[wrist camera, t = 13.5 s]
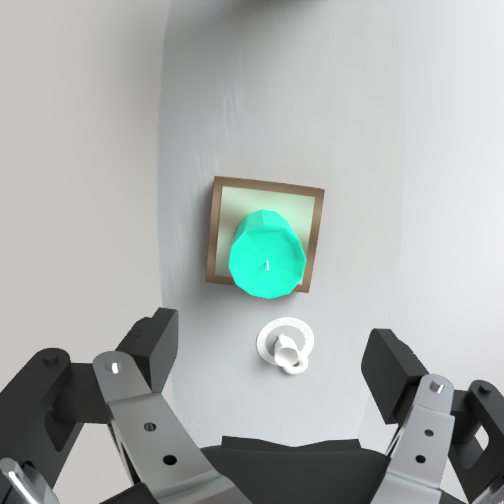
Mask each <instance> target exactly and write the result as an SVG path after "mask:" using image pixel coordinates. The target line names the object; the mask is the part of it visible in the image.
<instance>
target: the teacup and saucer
mask: <svg viewBox="0 0 504 504" xmlns="http://www.w3.org/2000/svg"><path fill="white" fill-rule="evenodd" d="M283 325H290V326H294V327H296V328H298V329H300V330H301V331H302V333H303V334H304V336H305V346H304V348H303V350H302V351H301V352H299V351H298V350H297V347H296V345H295V343H294V341H293V340H292V339H291V338H289V337H287V336H284V335H283V334H279V335H278V338H279V339H278V340H277V342H276V344H275V352H274V356H272V355H271V354H270V353H269V352H268V351H267V349H266V346H265V340H266V337H267V335H268V334H269V333H270V331H272V330H273V329H274V328H276V327H279V326H283ZM313 344H314V336H313V333H312V331H311V329H310V328H309V326H308V325H307V324H305V323H304V322H302V321H301V320H298V319H295V318H279V319H276V320H273V321H271V322H269V323H268V324H266V325H265V326H264V327H263V328H262V329H261V331H260V332H259V334H258V337H257V342H256V345H257V350H258V352H259V354H260V356H261V357H262V358H263V359H264V360H265V361H267V362H268V363H270V364H273V365H276V366H282V367H283V369H284V370H285V371H286V372H287V373H288V374H291V375H298V374H301V373H302V372H304V371H305V370H306V368H307V366H308V359H307V356H308V355H309V353H310V352H311V350H312V348H313ZM297 363H299V365H298V366H297V367H293V366H292V365H294V364H297Z"/></svg>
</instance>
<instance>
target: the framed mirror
mask: <svg viewBox="0 0 504 504" xmlns="http://www.w3.org/2000/svg"><path fill="white" fill-rule="evenodd" d="M324 191H325V189H320V188H314V187H307V186H300V185H292V184H285V183H277V182H269V181H260V180H251V179H241V178H232V177H221V176H215V178H214V188H213V198H212V209H211V220H210V232H209V244H208V257H207V271H206V282H211V283H220V284H228V285H236V283H235V281H234V279H233V276H232V274H231V272H230V269H229V267H228V266H229V259H230V252H231V247H232V244H233V241H234V238H235V235H236V233H237V230H238V227H239V225H240V224H241V222H242V221H243V220H244V219H245V217H246V216H247V215H248V214H250V213H252V212H255V211H258V210H260V209H265V210H271V211H276V212H277V213H279V214H280V215H281V216H282V217H283V218H285V219H286V220H287V221H288V223H289V224H290V226H291V227H292V229H293V231H294V232H295V234H296V235H297V237H298V238H299V240H300V242H301V245H302V248H303V251H304V254H305V257H306V264H305V269H304V273H303V278H302V280H301V281H300V282H299V283H298V284H297V285H296V287H295V288H294V289H293V290H292V291H294V292H305V293H309V288H310V282H311V276H312V271H313V265H314V259H315V253H316V246H317V240H318V234H319V227H320V220H321V213H322V206H323V199H324ZM237 286H238V285H237Z"/></svg>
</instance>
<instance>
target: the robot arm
mask: <svg viewBox="0 0 504 504" xmlns="http://www.w3.org/2000/svg"><path fill="white" fill-rule="evenodd" d="M177 350H178V311H177V310H174V309H168V308H161V307H159V308H158V310H157V311H156V312H155V314H154V315H153V317H152V318H149V317H144V318H143V319H141V320H139V321H137V322H136V323H135V324H134V326H133V327H132V329H131V330H130V331H129V332H128V333H127V335H126V336H125V337H124V339H123V340H122V341H121V343H120V344H119V345H118V347H117V348H116V349H115V351H108V352H104V353H101V354H99V355H98V356H96V357H95V359H94V360H93V363H89V364H88V363H87V364H86V363H71V360H70V356H69V354H68V353H67V352H66V351H64V350H62V349H59V348H47V349H43V350H41V351H39V352H37V353H36V354H35V355H34V356H33V357H32V358H31V359H30V360H29V362H27V364H26V365H25V366H24V367H23V368H22V369H21V370H20V371H19V372H18V373H17V374H16V376H15V377H14V378H13V379H12V380H11V381H10V382H9V384H8V385H7V386H6V387H5V388H4V389H3V390H2V392H1V393H0V504H60V503H59V500H58V498H57V496H56V495H55V493H54V492H53V491H52V490H53V487H54V485H55V483H56V481H57V479H58V476H59V474H60V472H61V470H62V468H63V466H64V463H65V462H66V459H67V457H68V455H69V453H70V451H71V449H72V447H73V445H74V443H75V441H76V439H77V437H78V435H79V433H80V431H81V429H82V427H83V425H84V423H99V424H107V427H108V430H109V432H110V434H111V437H112V440H113V442H114V444H115V446H116V449H117V451H118V453H119V456H120V458H121V460H122V462H123V465H124V467H125V469H126V472H127V474H128V477H129V479H130V481H131V483H132V485H133V486H132V487H130V488H128V489H126V490H125V491H123V492H121V493H119V494H117V495H115V496H113V497H111V498H109V499H107V500H106V501H104V502H101V503H99V504H466V503H464V502H462V501H460V500H459V499H457V498H455V497H453V496H452V495H450V494H448V493H446V492H445V491H443V490H441V489H440V488H439V486H440V482H441V479H442V475H443V471H444V468H445V464H446V460H447V456H448V458H449V459H450V462H451V464H452V466H453V468H454V470H455V473H456V475H457V477H458V479H459V481H460V483H461V486H462V488H463V491H464V493H465V495H466V497H467V500H468V502H469V504H504V397H503V396H502V395H501V394H500V392H499V391H498V390H497V388H496V387H495V386H493V385H492V384H490V383H489V382H486V381H483V380H475V381H473V382H472V383H471V385H470V387H469V389H468V390H467V391H462V390H454V387H453V384H452V383H451V382H450V381H449V380H448V379H446V378H445V377H443V376H440V375H436V374H429V372H428V371H427V370H426V368H425V367H424V366H423V364H422V363H421V362H420V360H418V358H417V357H416V355H415V354H413V351H412V350H411V349H410V348H409V346H407V345H406V344H405V343H403V342H402V341H400V340H399V339H398V338H397V337H396V336H395V334H394V333H393V332H392V330H391V329H376V328H374V329H373V330H372V331H371V333H370V336H369V339H368V343H367V346H366V349H365V352H364V355H363V358H362V363H361V371H362V374H363V376H364V378H365V381H366V383H367V385H368V387H369V389H370V391H371V393H372V396H373V398H374V400H375V402H376V404H377V406H378V409H379V411H380V413H381V415H382V417H383V420H384V422H385V424H386V425H387V424H396V423H398V428H397V429H396V431H395V433H394V435H393V437H392V439H391V441H390V443H389V445H388V448H387V450H386V452H385V454H382V453H379V452H377V451H373V450H369V449H364V448H361V446H360V443H359V440H358V439H350V440H327V441H323V442H319V443H314V444H309V445H304V446H299V447H290V446H285V445H281V444H276V443H272V442H268V441H264V440H260V439H251V438H239V437H229V436H222V443H221V445H217V446H209V447H204V448H200V449H199V448H198V447H197V445H196V444H195V443H194V441H193V440H192V439H191V437H190V436H189V434H188V433H187V432H186V430H185V429H184V427H183V426H182V424H181V423H180V422H179V420H178V419H177V417H176V416H175V414H174V413H173V411H172V410H171V408H170V407H169V405H168V404H167V402H166V401H165V399H164V398H163V396H162V395H161V392H162V390H163V387H164V385H165V383H166V380H167V377H168V375H169V373H170V371H171V368H172V366H173V363H174V361H175V359H176V356H177ZM481 425H482V426H483V428H484V429H485V431H486V432H487V434H488V436H489V442H488V445H487V447H486V449H485V450H484V451H483V449H482V448H481V446H480V444H479V442H478V441H477V439H476V437H475V436H474V435H475V434H476V433H477V431H478V429H479V428H480V427H481Z"/></svg>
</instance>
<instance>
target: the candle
mask: <svg viewBox="0 0 504 504" xmlns="http://www.w3.org/2000/svg"><path fill="white" fill-rule="evenodd" d="M305 264H306V257H305V254H304V251H303V248H302V245H301V242H300V240H299V238H298V237H297V235H296V234H295V232H294V231H293V229H292V227H291V226H290V224H289V223H288V221H287V220H286V219H285V218H283V217H282V216H281V215H280V214H279V213H277V212H276V211H271V210H265V209H260V210H258V211H255V212H252V213H250V214H248V215H247V216H246V217H245V219H244V220H243V221H242V222H241V224H240V225H239V227H238V230H237V233H236V235H235V238H234V241H233V244H232V247H231V252H230V259H229V266H228V267H229V269H230V272H231V274H232V276H233V279H234V281H235V283H236V285H238V286H239V287H240V288H242V289H243V290H245V291H246V292H247V293H249V294H250V295H252V296H257V297H263V298H268V299H272V298H276V297H280V296H283V295H287V294H290V293H291V291H292V290H293V289H294V288H295V287H296V285H297V284H298V283H299V282H300V281H301V280H302V278H303V273H304V269H305Z"/></svg>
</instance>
